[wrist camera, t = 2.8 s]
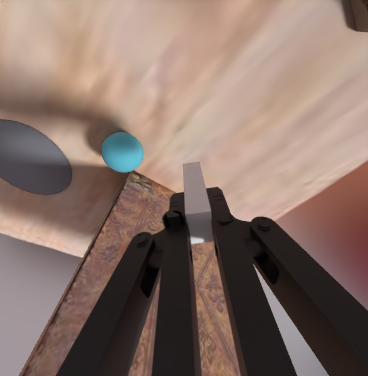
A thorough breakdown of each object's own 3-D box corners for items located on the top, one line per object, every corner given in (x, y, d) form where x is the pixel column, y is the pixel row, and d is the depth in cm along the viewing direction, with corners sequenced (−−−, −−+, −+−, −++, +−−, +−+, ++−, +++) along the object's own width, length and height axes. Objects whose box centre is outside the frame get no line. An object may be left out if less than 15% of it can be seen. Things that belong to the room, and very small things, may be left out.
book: (237, 225, 36) (361, 552, 11) (210, 246, 40) (258, 516, 16) (130, 168, 27) (-329, 1036, 3) (111, 203, 31) (-133, 656, 7)
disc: (-47, 128, 23) (-48, 128, 23) (37, 112, 22) (36, 112, 22) (21, 198, 30) (20, 198, 30) (85, 188, 29) (85, 189, 29)
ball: (103, 130, 23) (85, 143, 19) (140, 124, 23) (130, 136, 19) (118, 164, 27) (105, 182, 22) (150, 159, 26) (144, 176, 22)
